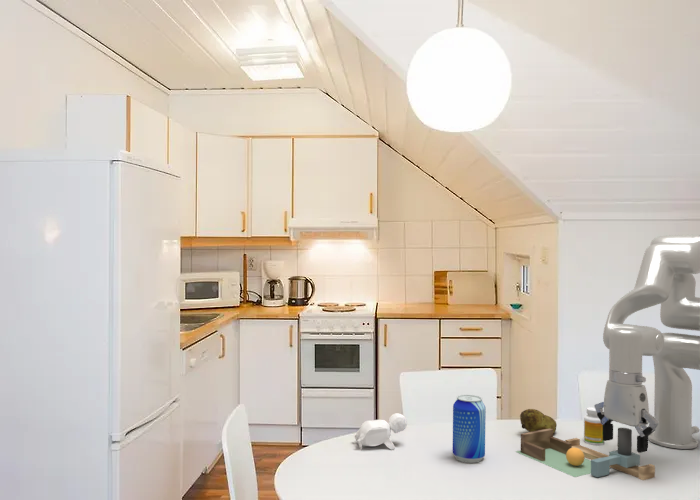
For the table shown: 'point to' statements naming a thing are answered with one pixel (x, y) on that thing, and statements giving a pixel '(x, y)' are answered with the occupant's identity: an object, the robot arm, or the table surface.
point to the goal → (542, 443)
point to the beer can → (469, 428)
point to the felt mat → (563, 463)
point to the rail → (639, 472)
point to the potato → (536, 421)
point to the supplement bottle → (593, 428)
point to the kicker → (617, 455)
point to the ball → (575, 456)
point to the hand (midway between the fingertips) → (624, 445)
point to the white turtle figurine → (380, 431)
